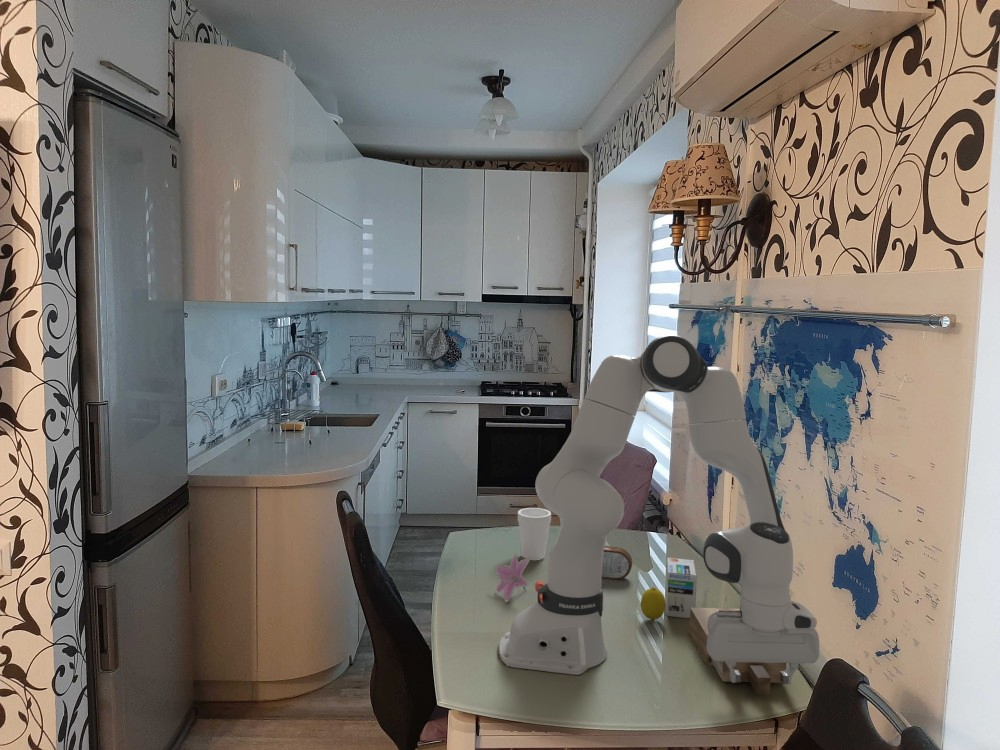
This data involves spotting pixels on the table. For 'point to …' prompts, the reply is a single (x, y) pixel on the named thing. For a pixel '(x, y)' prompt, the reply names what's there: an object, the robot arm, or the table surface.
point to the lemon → (653, 603)
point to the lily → (511, 576)
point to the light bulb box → (680, 587)
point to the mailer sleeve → (702, 628)
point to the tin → (615, 563)
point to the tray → (753, 673)
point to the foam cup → (534, 532)
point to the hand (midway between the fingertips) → (760, 681)
